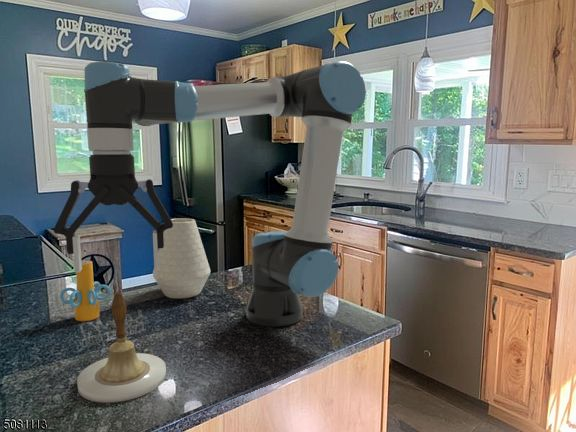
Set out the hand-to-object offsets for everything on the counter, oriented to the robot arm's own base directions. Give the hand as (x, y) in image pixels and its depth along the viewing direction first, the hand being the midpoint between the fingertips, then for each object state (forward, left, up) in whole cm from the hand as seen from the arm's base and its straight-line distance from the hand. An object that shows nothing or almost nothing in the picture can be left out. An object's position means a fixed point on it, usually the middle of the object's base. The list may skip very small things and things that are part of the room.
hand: (118, 268), depth 82 cm
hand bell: (0, 0, -21) cm, 21 cm away
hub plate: (0, 0, -22) cm, 22 cm away
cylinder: (+28, -26, -22) cm, 44 cm away
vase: (+13, -51, -22) cm, 57 cm away
